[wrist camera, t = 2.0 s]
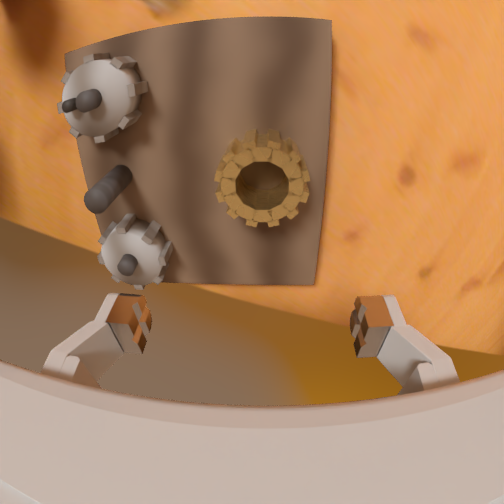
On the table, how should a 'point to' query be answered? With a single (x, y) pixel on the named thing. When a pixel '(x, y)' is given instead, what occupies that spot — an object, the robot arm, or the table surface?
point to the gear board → (200, 145)
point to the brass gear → (255, 200)
